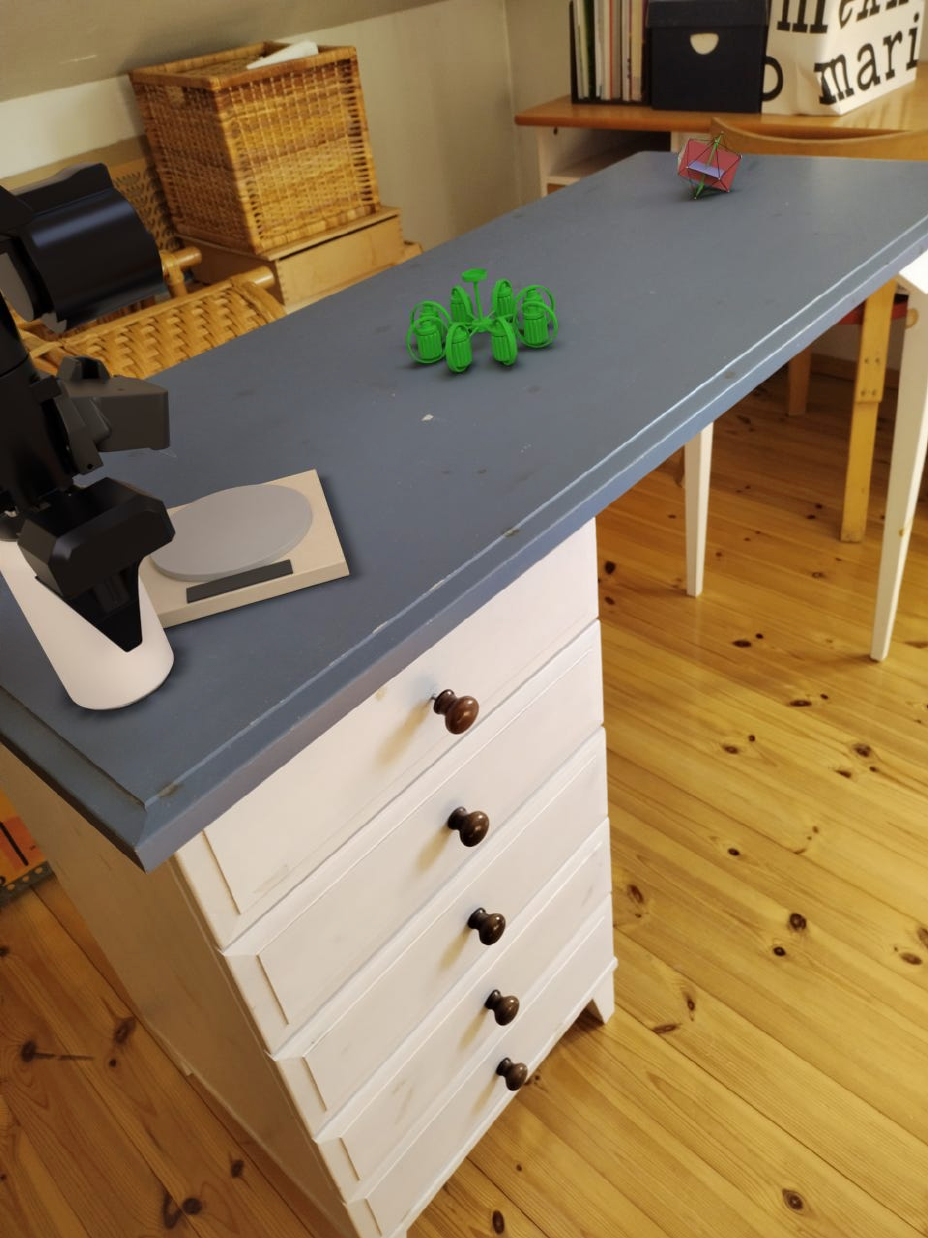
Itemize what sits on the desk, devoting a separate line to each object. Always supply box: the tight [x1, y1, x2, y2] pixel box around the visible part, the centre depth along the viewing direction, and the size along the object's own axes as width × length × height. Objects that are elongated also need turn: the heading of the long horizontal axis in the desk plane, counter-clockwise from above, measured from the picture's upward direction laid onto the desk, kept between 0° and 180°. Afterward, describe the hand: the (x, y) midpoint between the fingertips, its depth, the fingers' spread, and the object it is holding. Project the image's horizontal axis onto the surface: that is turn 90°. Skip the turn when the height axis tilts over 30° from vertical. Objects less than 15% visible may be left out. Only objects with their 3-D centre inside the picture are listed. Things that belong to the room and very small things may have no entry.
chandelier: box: [405, 267, 559, 373], centre depth 88 cm, size 15×15×7 cm
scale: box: [139, 468, 350, 629], centre depth 67 cm, size 14×14×2 cm
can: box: [0, 483, 175, 712], centre depth 54 cm, size 6×6×12 cm
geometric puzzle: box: [676, 131, 743, 200], centre depth 116 cm, size 7×7×8 cm
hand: (97, 620), depth 55 cm, fingers closed on can, 8 cm apart
